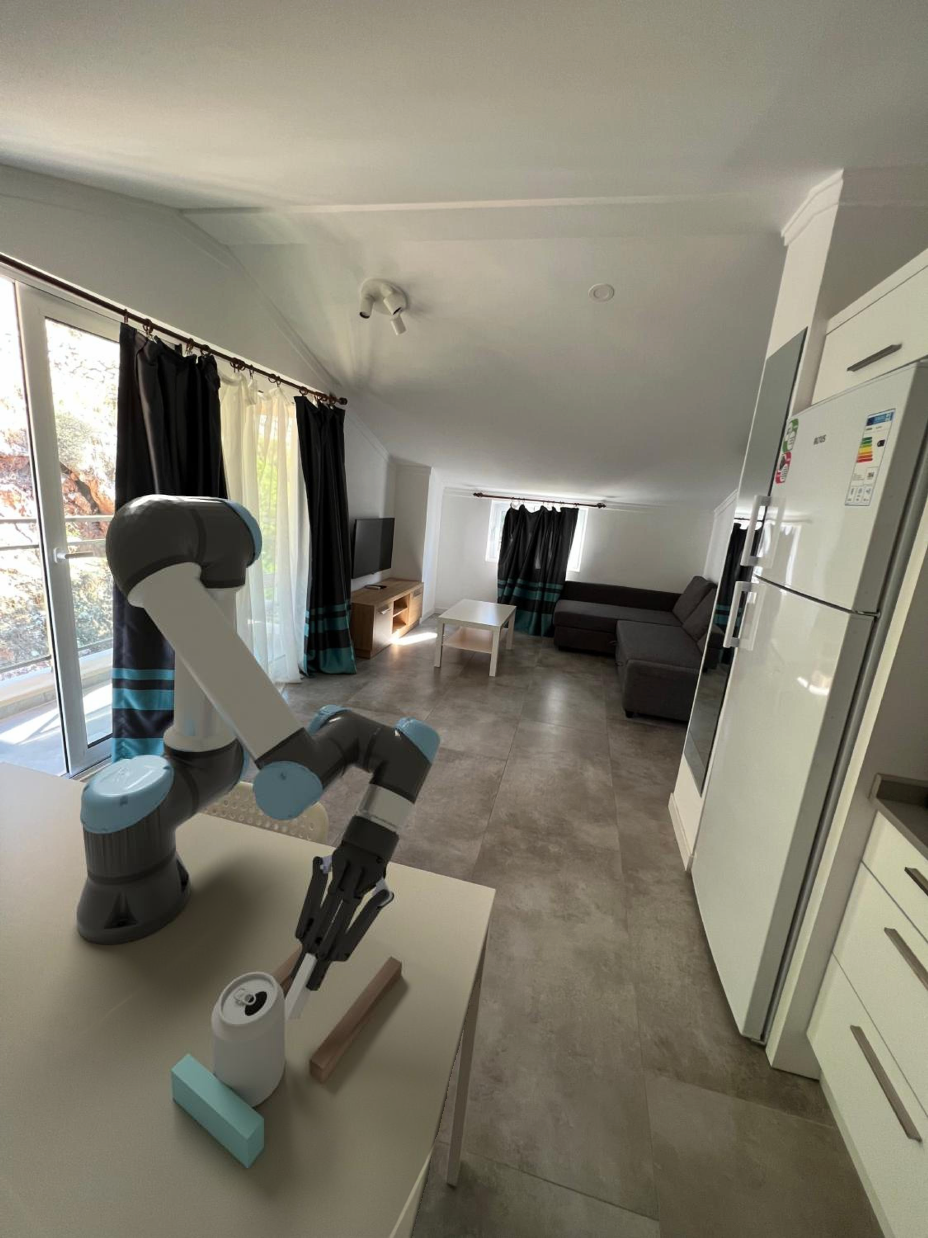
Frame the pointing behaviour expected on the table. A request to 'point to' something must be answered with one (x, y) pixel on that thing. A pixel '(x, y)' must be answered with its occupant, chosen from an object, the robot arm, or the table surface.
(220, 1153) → the table surface
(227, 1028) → the can
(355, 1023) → the chute
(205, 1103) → the bar
